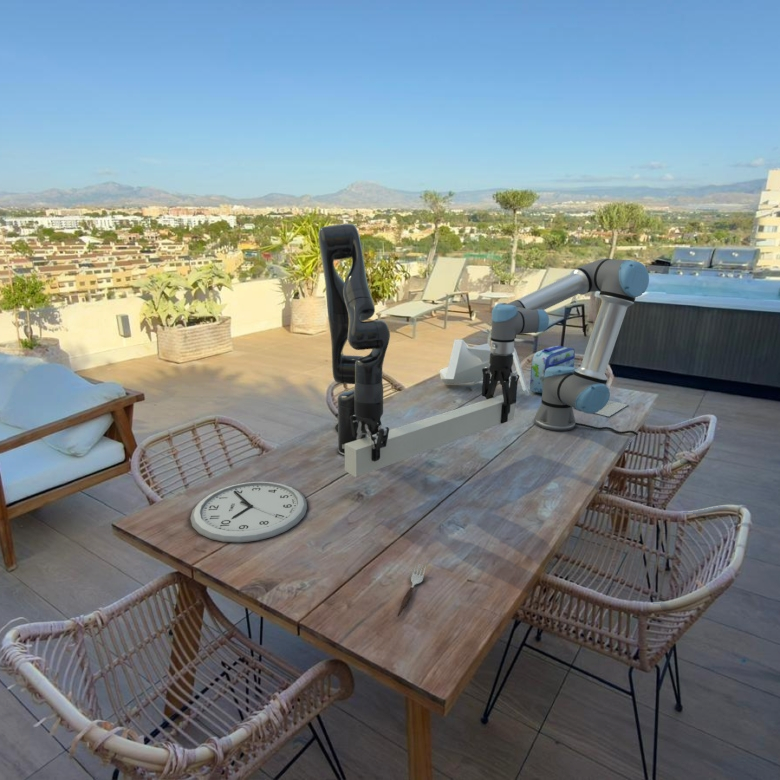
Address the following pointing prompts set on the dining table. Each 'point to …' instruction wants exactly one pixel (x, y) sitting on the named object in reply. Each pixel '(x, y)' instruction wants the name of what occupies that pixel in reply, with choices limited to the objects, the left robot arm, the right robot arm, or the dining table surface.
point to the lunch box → (549, 364)
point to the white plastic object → (473, 364)
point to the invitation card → (611, 408)
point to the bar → (425, 435)
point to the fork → (415, 580)
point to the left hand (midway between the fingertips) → (368, 456)
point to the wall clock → (248, 512)
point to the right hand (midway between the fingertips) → (497, 419)
